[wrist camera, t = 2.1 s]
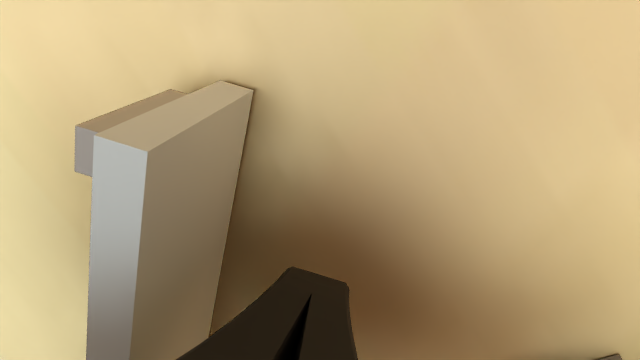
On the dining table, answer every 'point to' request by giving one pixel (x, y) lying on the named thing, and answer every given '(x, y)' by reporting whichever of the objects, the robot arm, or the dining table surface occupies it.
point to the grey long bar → (159, 218)
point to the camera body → (612, 358)
